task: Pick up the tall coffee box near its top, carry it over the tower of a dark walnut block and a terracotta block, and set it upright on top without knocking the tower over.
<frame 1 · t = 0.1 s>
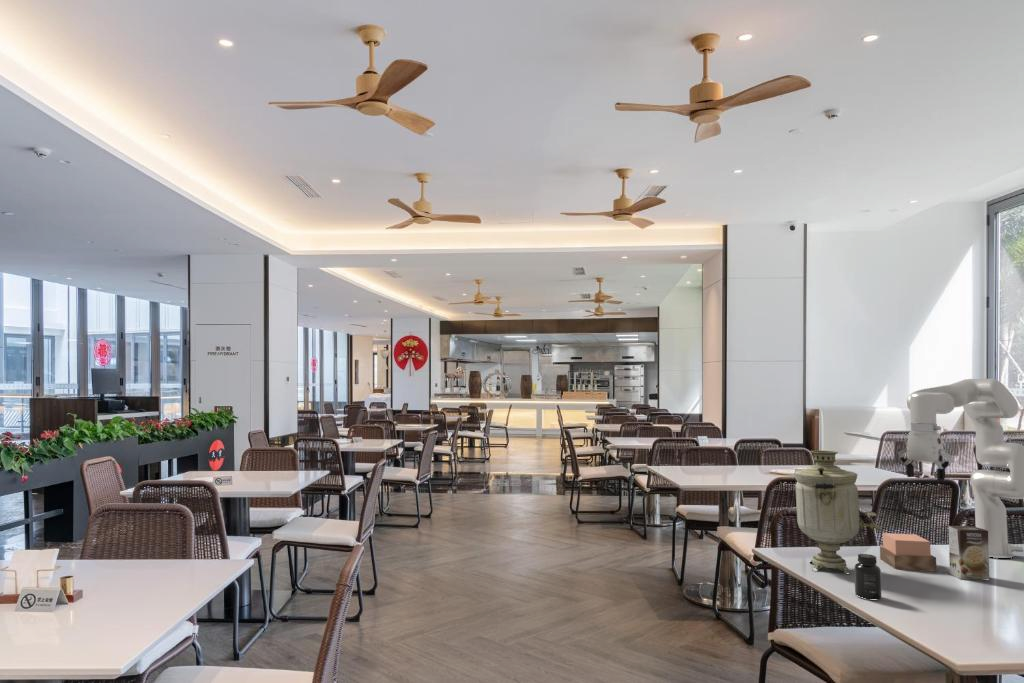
hand: (925, 478, 218), 31 cm above the table, tool pointing down, fingers open, 9 cm apart
coffee box: (969, 577, 210), on the table
supplement bottle: (868, 597, 188), on the table
samovar: (837, 571, 216), on the table
tower top block: (906, 551, 224), point 5 cm above the table, touching tower base block
tower base block: (907, 566, 224), on the table, touching tower top block
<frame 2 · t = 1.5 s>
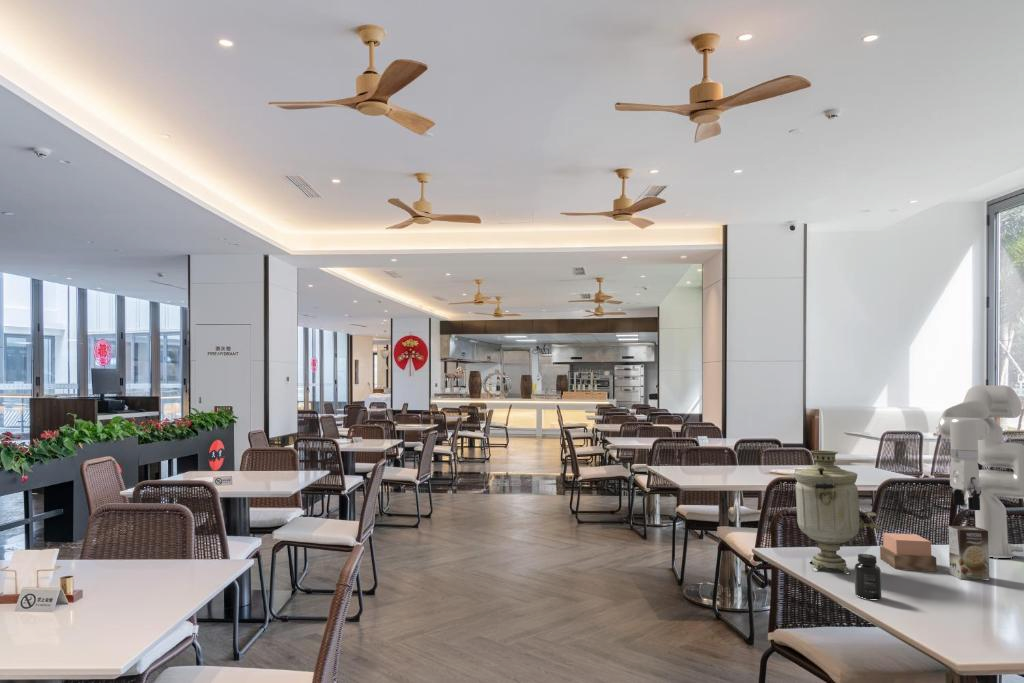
hand: (966, 507, 211), 23 cm above the table, tool pointing down, fingers open, 9 cm apart
tower top block: (906, 551, 224), point 5 cm above the table
tower base block: (907, 566, 224), on the table
everything else where it was.
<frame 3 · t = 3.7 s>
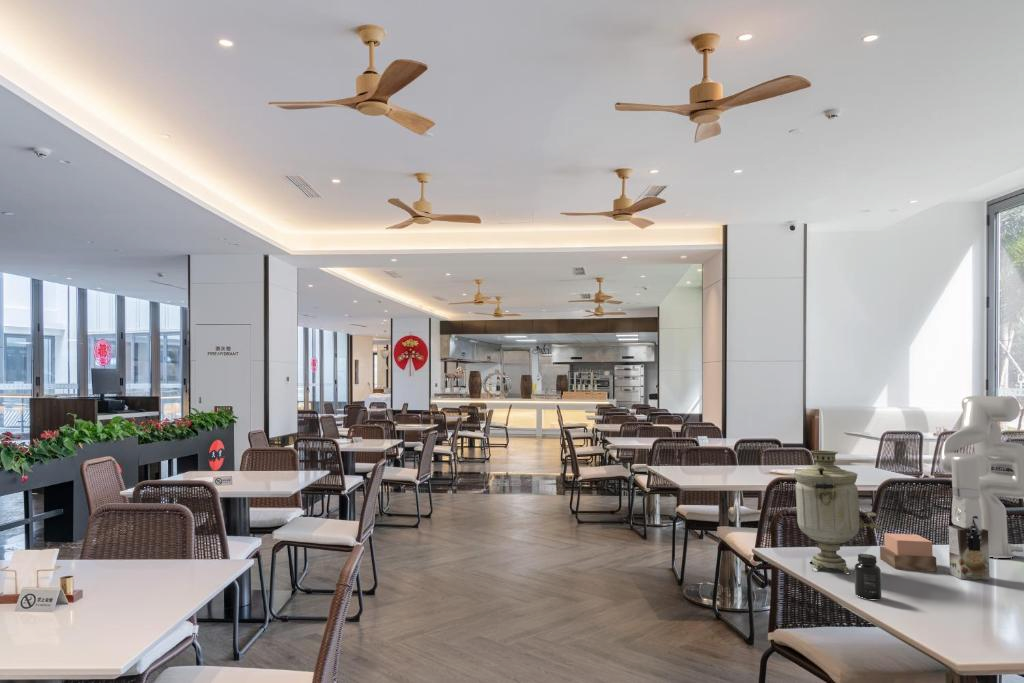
hand: (968, 547, 210), 10 cm above the table, tool pointing down, fingers closed on coffee box, 6 cm apart
coffee box: (969, 577, 209), on the table, touching gripper
tower top block: (908, 551, 224), point 5 cm above the table, touching tower base block
tower base block: (907, 566, 224), on the table, touching tower top block
everything else where it was.
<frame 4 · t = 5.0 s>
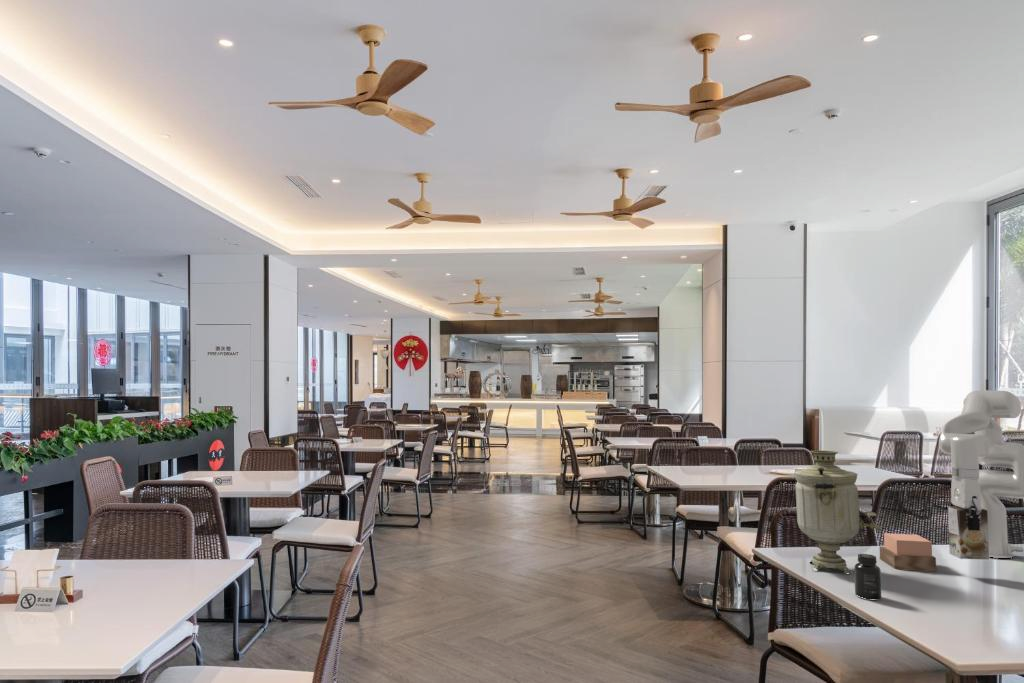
hand: (967, 527, 211), 16 cm above the table, tool pointing down, fingers closed on coffee box, 6 cm apart
coffee box: (969, 557, 211), point 6 cm above the table, touching gripper
tower top block: (907, 551, 224), point 5 cm above the table
tower base block: (907, 566, 224), on the table
everything else where it was.
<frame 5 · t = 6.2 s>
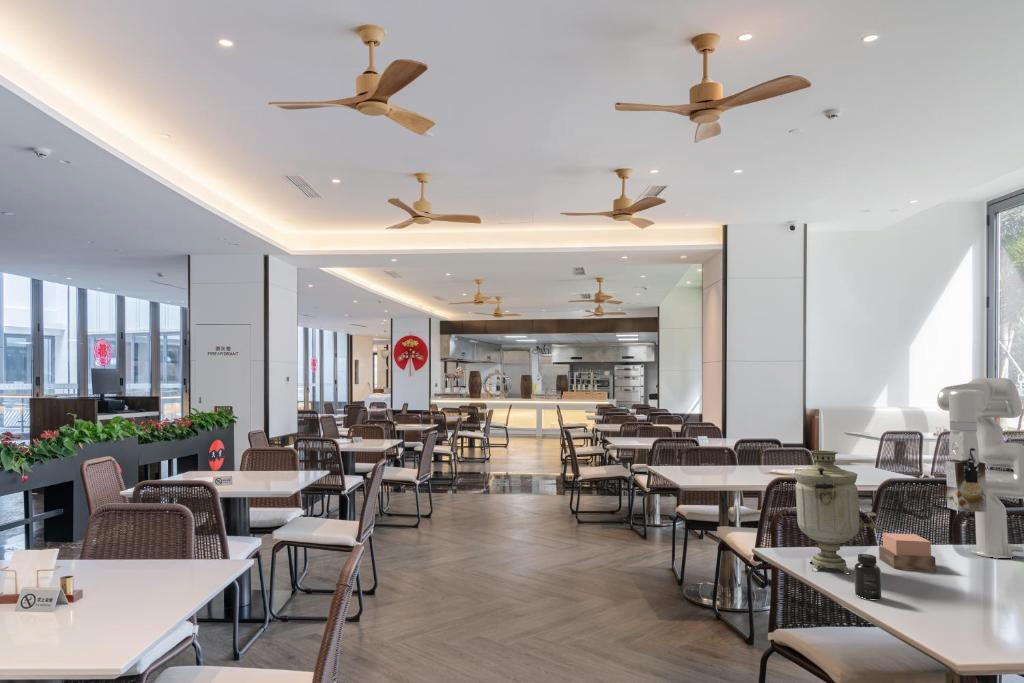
hand: (965, 480, 212), 32 cm above the table, tool pointing down, fingers closed on coffee box, 6 cm apart
coffee box: (967, 510, 211), point 22 cm above the table, touching gripper
tower top block: (906, 551, 224), point 5 cm above the table, touching tower base block
tower base block: (906, 566, 224), on the table, touching tower top block
everything else where it was.
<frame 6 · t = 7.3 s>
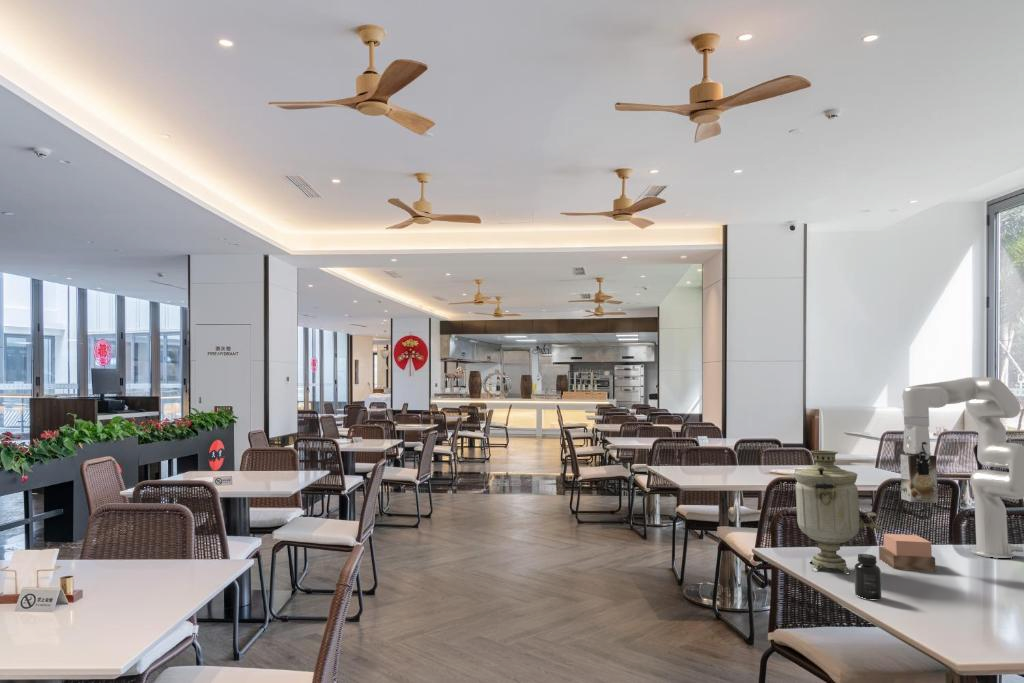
hand: (918, 472, 223), 33 cm above the table, tool pointing down, fingers closed on coffee box, 6 cm apart
coffee box: (919, 501, 222), point 23 cm above the table, touching gripper
everything else where it was.
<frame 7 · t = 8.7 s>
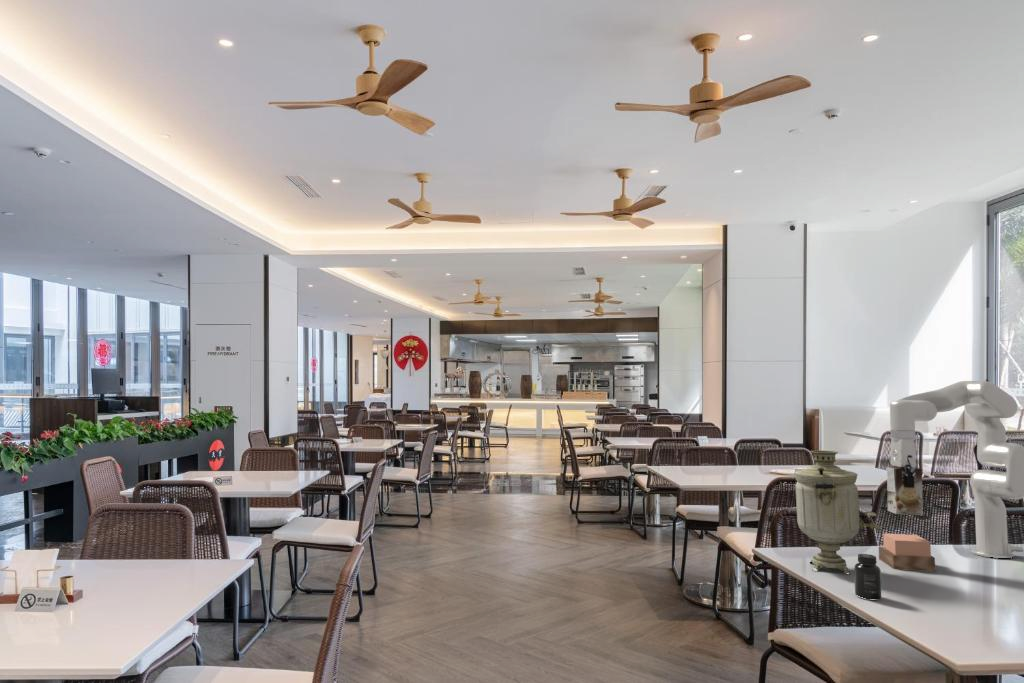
hand: (904, 485, 226), 28 cm above the table, tool pointing down, fingers closed on coffee box, 6 cm apart
coffee box: (905, 513, 225), point 18 cm above the table, touching gripper
tower top block: (906, 552, 224), point 4 cm above the table
tower base block: (906, 566, 224), on the table
everything else where it was.
when the fingers open (21 cm above the table, at t = 11.1 s): coffee box drops 1 cm, resting on tower top block.
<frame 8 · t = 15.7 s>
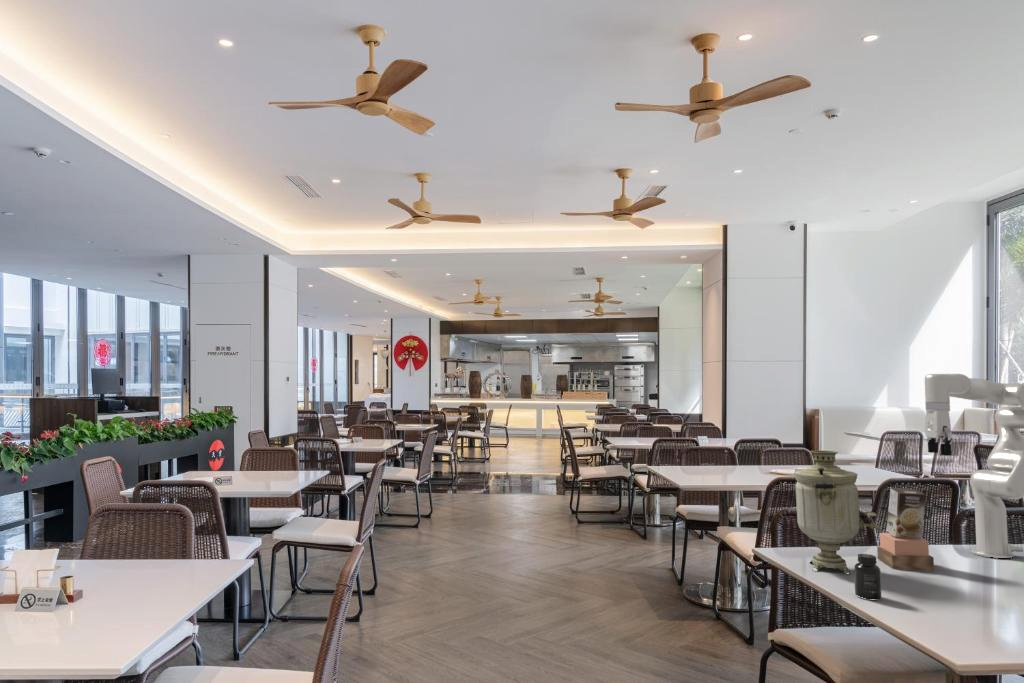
hand: (939, 453, 234), 38 cm above the table, tool pointing down, fingers open, 9 cm apart
coffee box: (903, 535, 225), point 10 cm above the table, touching tower top block
tower top block: (903, 551, 224), point 5 cm above the table, touching coffee box, tower base block
tower base block: (904, 566, 224), on the table, touching tower top block
everything else where it was.
at the end: coffee box inside the target area on the tower top block (0.7 cm from its centre), point 5.1 cm above the tower top block's base; coffee box tilted 3°; tower top block 0.2 cm off-centre on the tower base block, point 5.0 cm above the tower base block's base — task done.
